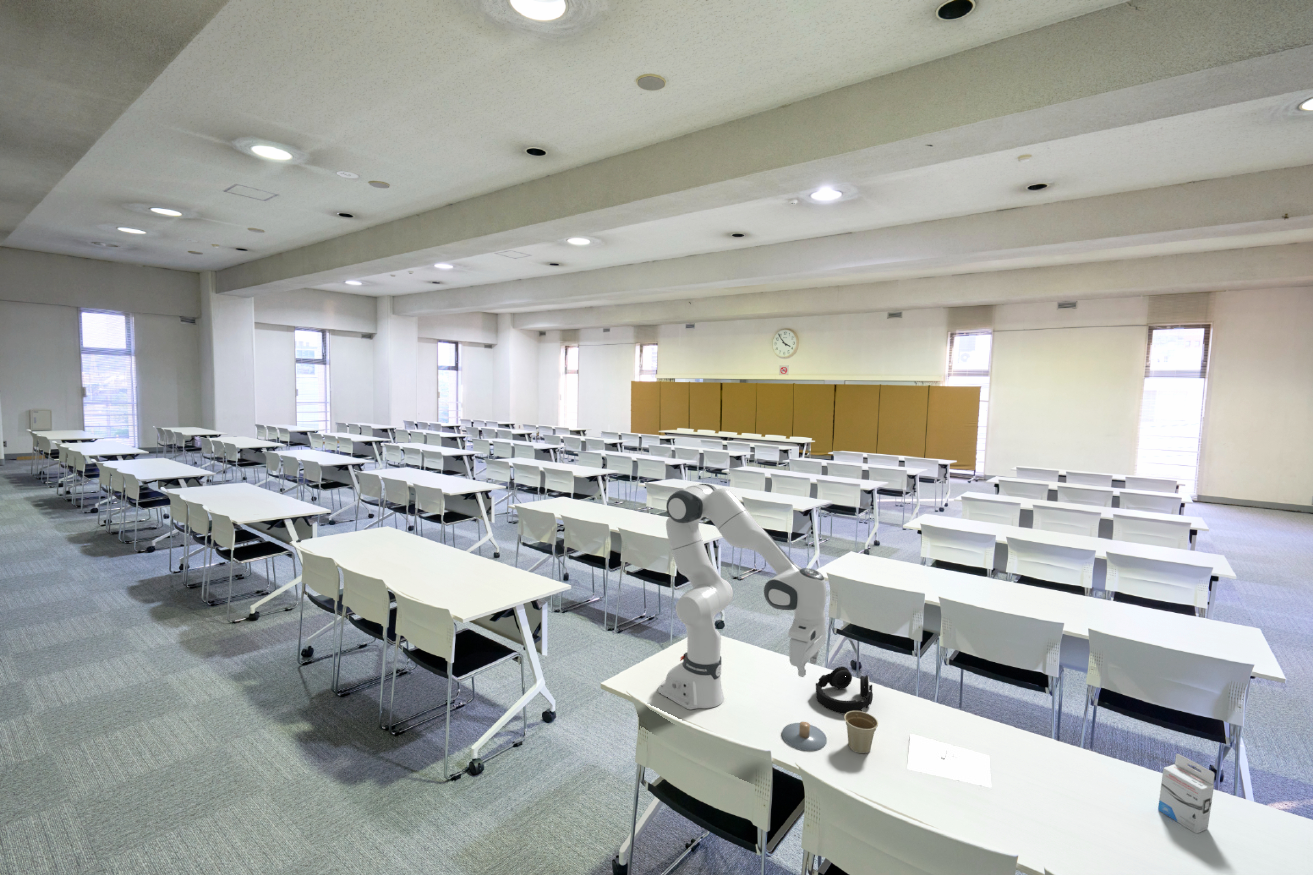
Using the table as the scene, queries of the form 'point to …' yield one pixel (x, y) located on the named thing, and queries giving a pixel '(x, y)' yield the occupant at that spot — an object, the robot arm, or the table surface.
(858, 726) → the flower pot
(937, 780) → the table surface
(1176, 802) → the ink box
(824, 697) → the headphones
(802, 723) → the lid
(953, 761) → the paper sheet
